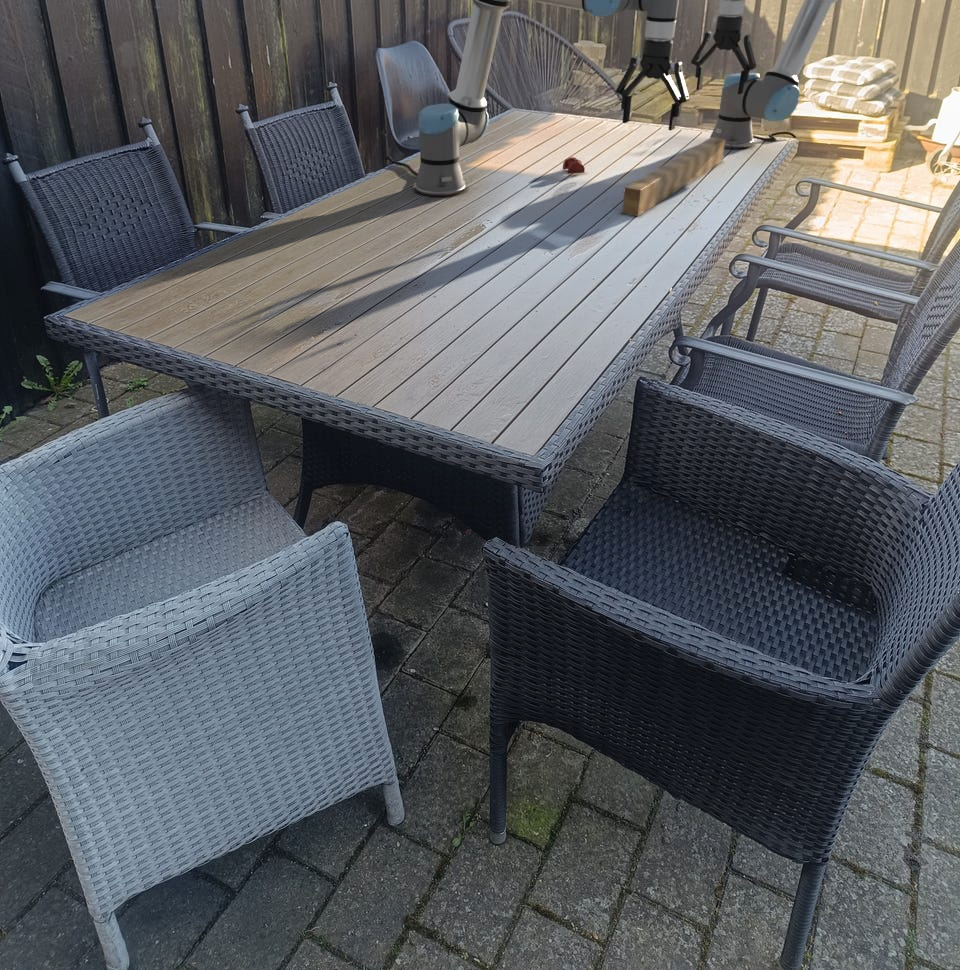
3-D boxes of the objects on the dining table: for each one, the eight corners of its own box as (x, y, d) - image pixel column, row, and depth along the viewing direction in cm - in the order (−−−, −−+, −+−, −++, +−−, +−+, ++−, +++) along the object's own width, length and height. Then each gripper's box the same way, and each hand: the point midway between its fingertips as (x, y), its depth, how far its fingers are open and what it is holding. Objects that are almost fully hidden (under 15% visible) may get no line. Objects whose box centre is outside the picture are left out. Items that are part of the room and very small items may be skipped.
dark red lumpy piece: (577, 153, 276) (586, 160, 270) (577, 167, 278) (585, 173, 272) (561, 155, 275) (569, 162, 269) (561, 168, 277) (569, 175, 271)
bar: (637, 216, 238) (640, 190, 233) (622, 213, 240) (624, 187, 236) (721, 161, 284) (725, 139, 280) (708, 159, 287) (711, 137, 282)
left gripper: (710, 41, 215) (696, 129, 228) (621, 32, 226) (612, 116, 238) (699, 45, 210) (686, 135, 222) (609, 36, 221) (601, 121, 233)
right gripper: (775, 16, 252) (761, 93, 265) (695, 11, 263) (686, 85, 276) (767, 19, 247) (754, 97, 260) (686, 14, 258) (677, 89, 271)
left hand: (648, 125), depth 230 cm, fingers open, 13 cm apart
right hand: (719, 91), depth 268 cm, fingers open, 13 cm apart
